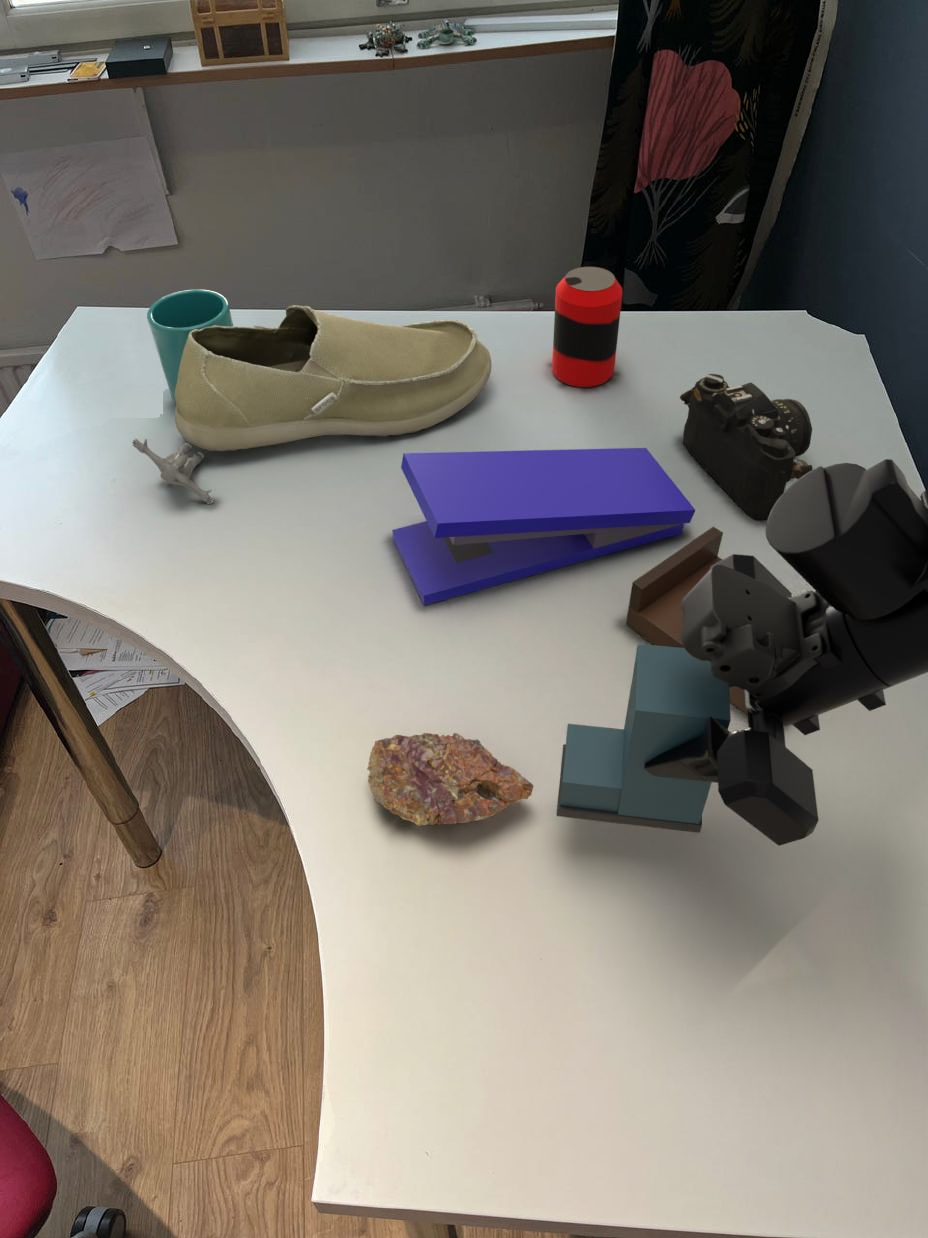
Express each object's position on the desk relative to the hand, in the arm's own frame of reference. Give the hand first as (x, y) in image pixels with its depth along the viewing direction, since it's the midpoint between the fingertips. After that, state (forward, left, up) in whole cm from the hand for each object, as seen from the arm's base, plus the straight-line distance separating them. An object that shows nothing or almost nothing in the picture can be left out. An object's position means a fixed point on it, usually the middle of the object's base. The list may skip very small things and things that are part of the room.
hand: (649, 733), depth 62 cm
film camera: (-7, -47, -13) cm, 49 cm away
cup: (+57, -49, -13) cm, 76 cm away
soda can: (+13, -62, -13) cm, 64 cm away
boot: (+1, 0, -7) cm, 7 cm away
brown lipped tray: (-7, -21, -12) cm, 25 cm away
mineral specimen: (+14, 0, -13) cm, 19 cm away
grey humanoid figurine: (+52, -31, -13) cm, 62 cm away
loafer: (+40, -47, -12) cm, 63 cm away
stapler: (+13, -31, -13) cm, 36 cm away
